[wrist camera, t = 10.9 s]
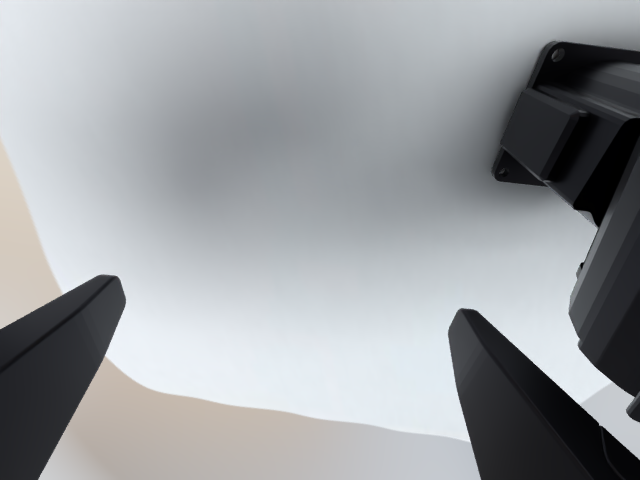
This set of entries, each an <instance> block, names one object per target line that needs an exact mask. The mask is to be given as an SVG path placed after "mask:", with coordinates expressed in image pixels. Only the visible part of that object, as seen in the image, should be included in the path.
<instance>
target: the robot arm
mask: <svg viewBox="0 0 640 480" xmlns="http://www.w3.org/2000/svg"><path fill="white" fill-rule="evenodd" d="M557 49H559V51H560V52H559V55H558V57H557V58H556V59H554V60H552V54H553V53H554V51H555V50H557ZM501 145H502V147H501V149H500V151H499V153H498V156H497V158H496V160H495V163H494V165H493V167H492V171H491V173H492V176H493V177H494V178H495V179H496V180H497V181H501V182H510V183H519V184H528V185H537V186H546V187H549V188H550V189H552V190H553V191H554V192H555V193H556V194H557V195H558V196H560V197H561V198H562V199H563V200H564V201H565V202H566V203H568V204H569V205H570V206H571V207H572V208H573V209H575V210H577V211H578V212H580V213H581V214H582V215H583V216H584V217H585V218H586V219H588V220H589V221H590V222H591V223H592V224H593V225H595V226H596V227H597V228H598V231H597V233H596V236H595V238H594V240H593V243H592V245H591V247H590V250H589V252H588V254H587V257H586V259H585V261H584V262H583V263H581V264H580V266H579V268H578V271H577V273H576V275H577V279H578V280H577V282H576V284H575V287H574V289H573V291H572V294H571V296H570V305H569V316H570V318H571V321H572V323H573V326H574V328H575V331H576V333H577V335H578V337H579V338H580V340H579V342H578V347H579V349H580V350H581V351H582V353H583V354H584V355H585V356H586V357H587V358H588V359H589V361H590V362H591V363H592V364H593V365H594V366H595V367H596V368H597V369H598V370H599V371H601V372H602V373H603V374H604V375H605V376H607V377H608V378H609V379H610V380H611V381H613V382H614V383H615V384H616V385H617V386H619V387H620V388H621V389H623V390H624V391H626V392H627V393H629V394H631V395H632V396H634V397H635V398H634V400H633V401H632V402H631V403H630V405H629V406H628V407H627V409H626V412H627V414H628V415H629V417H631V418H632V419H633V420H635V421H638V422H640V51H633V50H625V49H618V48H610V47H602V46H595V45H587V44H580V43H572V42H564V41H554V42H552V43H550V44H549V45H547V46H546V47H545V49H544V50H543V52H542V54H541V56H540V59H539V61H538V63H537V66H536V68H535V70H534V73H533V75H532V77H531V80H530V82H529V84H528V86H527V89H526V90H525V91H523V92H522V93H521V95H520V98H519V100H518V102H517V105H516V107H515V109H514V112H513V114H512V117H511V119H510V121H509V124H508V126H507V128H506V131H505V133H504V135H503V138H502V140H501ZM504 168H506V170H505V172H504V173H502V174H499V172H500V171H501V170H502V169H504ZM125 304H126V298H125V294H124V291H123V288H122V285H121V282H120V279H119V278H118V277H117V276H114V275H98V276H96V277H94V278H93V279H91V280H89V281H87V282H85V283H84V284H82V285H80V286H78V287H76V288H74V289H73V290H71V291H69V292H67V293H65V294H64V295H62V296H60V297H58V298H56V299H55V300H53V301H51V302H49V303H47V304H46V305H44V306H42V307H40V308H38V309H36V310H35V311H33V312H31V313H30V314H28V315H26V316H24V317H22V318H20V319H18V320H17V321H15V322H13V323H11V324H9V325H8V326H6V327H4V328H2V329H0V480H38V479H39V477H40V475H41V473H42V471H43V469H44V468H45V466H46V464H47V462H48V460H49V458H50V457H51V455H52V453H53V451H54V449H55V447H56V446H57V444H58V442H59V440H60V438H61V436H62V435H63V433H64V431H65V429H66V427H67V425H68V423H69V422H70V420H71V418H72V416H73V414H74V413H75V411H76V409H77V407H78V405H79V403H80V401H81V400H82V398H83V396H84V394H85V392H86V390H87V389H88V387H89V384H90V383H91V381H92V379H93V378H94V376H95V374H96V372H97V370H98V368H99V366H100V364H101V362H102V361H103V358H104V356H105V354H106V352H107V349H108V347H109V344H110V342H111V340H112V337H113V335H114V332H115V330H116V327H117V325H118V322H119V320H120V318H121V315H122V313H123V310H124V308H125ZM448 338H449V344H450V350H451V357H452V363H453V369H454V376H455V382H456V387H457V392H458V396H459V400H460V404H461V407H462V411H463V415H464V419H465V422H466V426H467V430H468V433H469V437H470V441H471V444H472V448H473V452H474V455H475V459H476V463H477V466H478V470H479V474H480V477H481V480H640V460H639V459H638V458H637V457H636V456H635V455H634V454H632V453H631V452H630V451H629V450H628V449H627V448H626V447H625V446H623V445H622V444H621V443H620V442H619V441H618V440H617V439H616V438H615V437H614V436H612V435H611V434H610V433H609V432H608V431H607V430H606V429H605V428H604V427H603V426H599V423H598V422H597V421H596V420H595V419H594V418H593V417H592V416H591V415H589V414H588V413H587V412H586V411H585V410H584V409H583V408H582V407H581V406H580V405H579V404H578V403H576V402H575V401H574V400H573V399H572V398H571V397H570V396H569V395H568V394H567V393H566V392H565V391H563V390H562V389H561V388H560V387H559V386H558V385H557V384H556V383H555V382H554V381H553V380H551V379H550V378H549V377H548V376H547V375H546V374H545V373H544V372H543V371H542V370H541V369H540V368H538V367H537V366H536V365H535V364H534V363H533V362H532V361H531V360H530V359H529V358H528V357H526V356H525V355H524V354H523V353H522V352H521V351H520V350H519V349H518V348H517V347H516V346H515V345H513V344H512V343H511V342H510V341H509V340H508V339H507V338H506V337H505V336H504V335H503V334H501V333H500V332H499V331H498V330H497V329H496V328H495V327H494V326H493V325H492V324H491V323H490V322H488V321H487V320H486V319H485V318H484V317H483V316H482V315H481V314H480V313H479V312H477V311H476V310H473V309H464V308H461V309H459V310H458V311H457V313H456V315H455V317H454V319H453V321H452V323H451V325H450V327H449V330H448Z"/></svg>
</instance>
